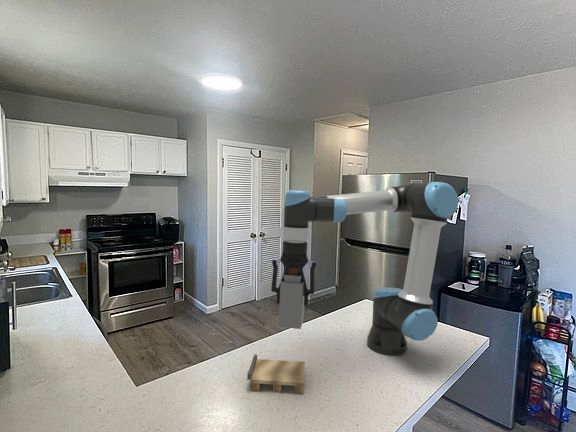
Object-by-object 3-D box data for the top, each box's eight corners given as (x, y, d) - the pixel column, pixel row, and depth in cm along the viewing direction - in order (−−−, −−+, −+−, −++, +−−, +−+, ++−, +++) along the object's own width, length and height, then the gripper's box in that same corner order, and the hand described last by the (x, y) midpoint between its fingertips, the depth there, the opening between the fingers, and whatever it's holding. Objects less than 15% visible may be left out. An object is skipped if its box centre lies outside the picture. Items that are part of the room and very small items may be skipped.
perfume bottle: (300, 329, 96) (303, 269, 95) (278, 326, 98) (281, 268, 96) (303, 320, 103) (306, 265, 102) (282, 318, 104) (285, 263, 103)
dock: (304, 371, 107) (305, 357, 107) (303, 394, 95) (304, 378, 95) (254, 368, 108) (254, 354, 108) (247, 390, 96) (247, 374, 96)
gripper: (325, 240, 102) (321, 312, 103) (266, 237, 103) (263, 308, 104) (326, 244, 94) (322, 321, 96) (263, 240, 95) (259, 317, 97)
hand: (291, 314), depth 100 cm, fingers closed on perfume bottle, 6 cm apart
